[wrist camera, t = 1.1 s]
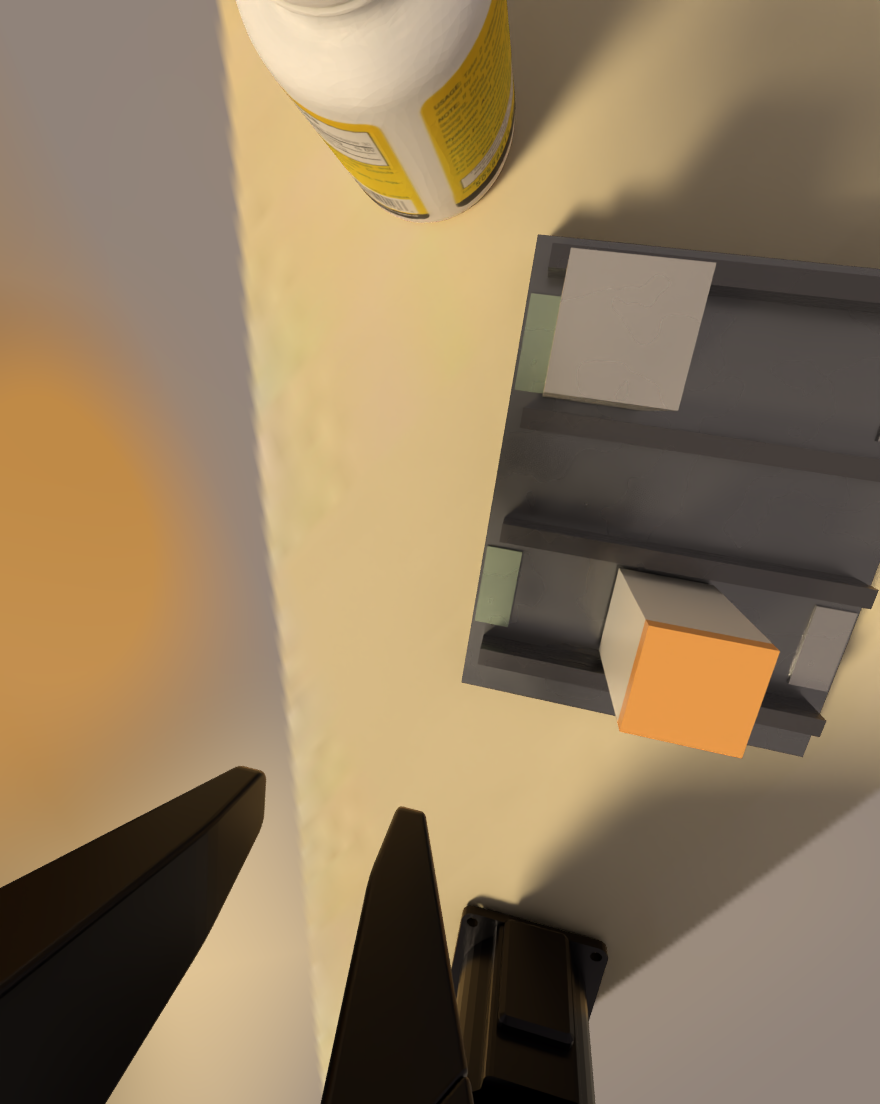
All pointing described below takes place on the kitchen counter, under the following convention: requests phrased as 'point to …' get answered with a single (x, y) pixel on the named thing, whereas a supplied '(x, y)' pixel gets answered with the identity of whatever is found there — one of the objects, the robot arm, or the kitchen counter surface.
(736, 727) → the block
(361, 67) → the supplement bottle
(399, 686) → the kitchen counter surface
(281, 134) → the kitchen counter surface
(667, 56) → the kitchen counter surface
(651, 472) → the breaker panel
